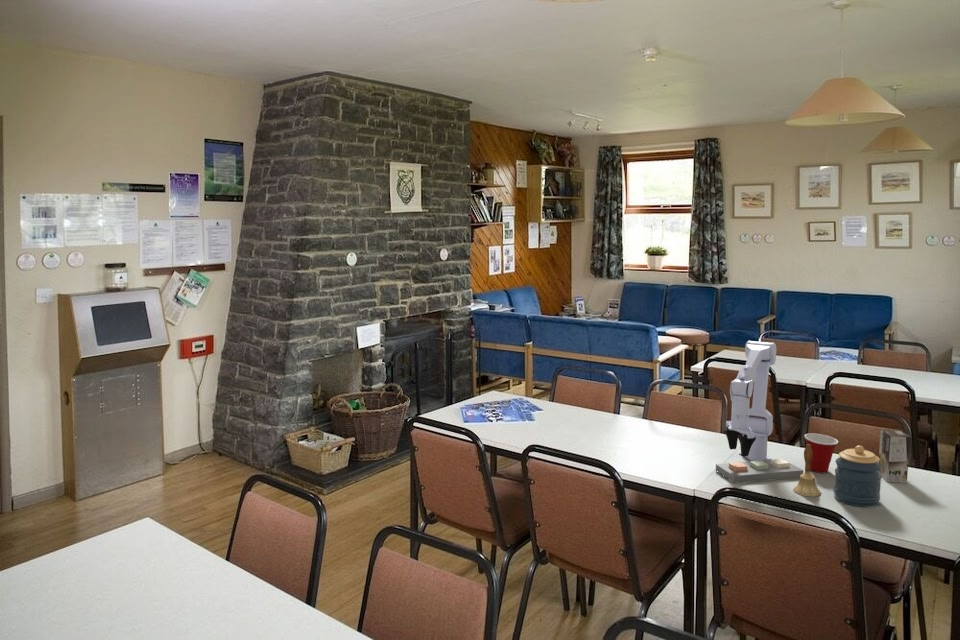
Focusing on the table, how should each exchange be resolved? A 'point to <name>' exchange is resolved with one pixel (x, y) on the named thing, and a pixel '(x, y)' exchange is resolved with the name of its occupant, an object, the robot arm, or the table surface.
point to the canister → (858, 477)
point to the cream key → (779, 463)
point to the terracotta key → (737, 466)
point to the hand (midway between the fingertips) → (738, 452)
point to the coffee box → (894, 455)
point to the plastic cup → (821, 451)
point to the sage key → (759, 465)
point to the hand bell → (807, 477)
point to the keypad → (759, 472)
